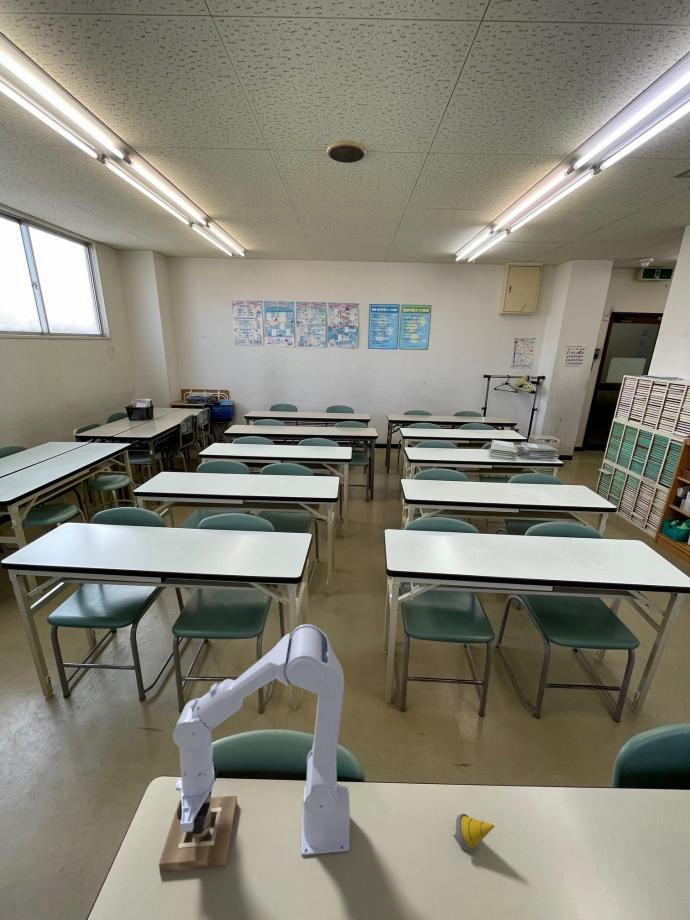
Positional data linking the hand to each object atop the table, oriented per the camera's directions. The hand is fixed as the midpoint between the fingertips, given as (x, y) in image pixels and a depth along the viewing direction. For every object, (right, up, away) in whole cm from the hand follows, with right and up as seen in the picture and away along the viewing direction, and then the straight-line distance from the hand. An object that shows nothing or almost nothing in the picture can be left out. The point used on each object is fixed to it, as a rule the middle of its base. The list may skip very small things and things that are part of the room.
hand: (200, 819), depth 75 cm
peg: (0, -4, +1) cm, 4 cm away
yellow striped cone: (+54, -5, +1) cm, 54 cm away
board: (0, -4, +1) cm, 4 cm away
